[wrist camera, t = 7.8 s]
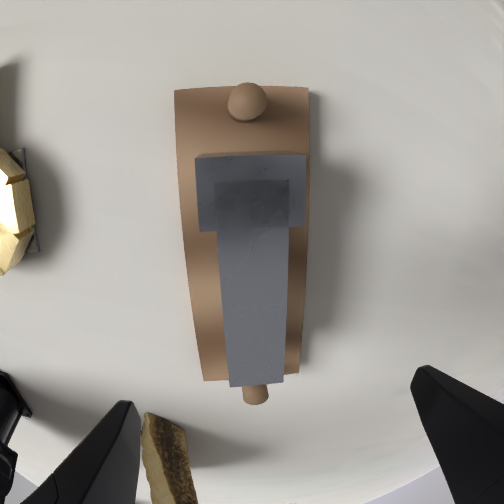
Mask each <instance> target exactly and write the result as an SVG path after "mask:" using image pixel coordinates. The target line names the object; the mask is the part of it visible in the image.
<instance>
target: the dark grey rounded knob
mask: <svg viewBox="0 0 504 504" xmlns="http://www.w3.org/2000/svg"><path fill="white" fill-rule="evenodd" d="M7 154H8V155H9V156H10V157H11V158H12V159H13V160H14V161H15V162H16V163H17V164H18V165H19V166H20V167H21V168H22V169H23V170H24V171H25V172H26V165H25V153H24V148H22V149H18V150H15V151H12V152H9V153H7ZM26 179H27V174H25V176H24V178H23V180H26ZM31 227H32V228H33V229H35V226H34V225H32V226H31ZM39 251H40V249H39V245H38V240H37V236H36V231H34V233H33V235H32V237H31V239H30V241H29V244H28V246H27V248H26V250H25V253H35V252H39Z"/></svg>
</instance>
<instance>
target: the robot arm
mask: <svg viewBox="0 0 504 504" xmlns="http://www.w3.org/2000/svg"><path fill="white" fill-rule="evenodd" d="M410 389H411V393H412V395H413V398H414V401H415V404H416V407H417V410H418V413H419V416H420V419H421V422H422V425H423V427H424V429H425V432H426V434H427V436H428V438H429V441H430V443H431V445H432V447H433V450H434V452H435V454H436V457H437V459H438V461H439V464H440V466H441V469H442V471H443V474H444V476H445V479H446V481H447V484H448V486H449V489H450V491H451V494H452V497H453V499H454V502H455V504H504V404H502V403H500V402H498V401H496V400H495V399H493V398H491V397H489V396H487V395H485V394H483V393H481V392H479V391H477V390H475V389H473V388H472V387H470V386H468V385H466V384H464V383H462V382H460V381H458V380H456V379H454V378H453V377H451V376H449V375H447V374H445V373H443V372H441V371H439V370H438V369H436V368H434V367H432V366H430V365H425V366H422V367H419V368H418V369H417V370H416V372H415V375H414V377H413V380H412V382H411V386H410ZM21 415H22V416H25V417H29V418H31V417H32V412H31V411H30V410H29V408H28V407H27V405H26V404H25V402H24V401H23V399H22V398H21V396H20V394H19V393H18V391H17V390H16V388H15V386H14V385H13V383H12V381H11V380H10V378H9V376H8V375H7V374H5V373H2V372H0V504H4V501H5V496H7V494H8V493H9V491H10V490H11V487H12V484H13V479H14V472H15V467H16V462H17V457H18V454H17V453H16V452H15V451H13V450H11V449H10V448H9V447H8V446H7V445H8V443H9V441H10V439H11V436H12V434H13V432H14V430H15V428H16V426H17V424H18V421H19V419H20V417H21ZM140 435H141V419H140V416H139V414H138V412H137V409H136V407H135V405H134V403H133V402H132V401H126V400H120V401H118V402H117V403H116V404H115V405H114V406H113V408H112V409H111V410H110V411H109V412H108V413H107V414H106V415H105V416H104V417H103V418H102V420H101V421H100V422H99V423H98V424H97V425H96V426H95V427H94V428H93V429H92V430H91V431H90V433H89V434H88V435H87V436H86V437H85V438H84V439H83V440H82V441H81V442H80V443H79V445H78V446H77V447H76V448H75V449H74V450H73V451H72V452H71V453H70V454H69V455H68V456H67V458H66V459H65V460H64V461H63V462H62V463H61V464H60V465H59V466H58V467H57V468H56V470H55V471H54V472H53V473H52V474H51V475H50V476H49V477H48V478H47V479H46V480H45V481H44V482H43V483H42V484H41V485H40V486H39V487H38V488H37V489H36V490H35V491H34V492H33V493H32V494H31V495H30V496H29V497H27V498H26V499H25V500H24V501H23V502H21V503H20V504H135V498H136V490H137V482H138V475H139V466H140Z"/></svg>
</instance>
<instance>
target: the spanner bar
mask: <svg viewBox="0 0 504 504" xmlns="http://www.w3.org/2000/svg"><path fill="white" fill-rule="evenodd" d="M195 176H196V192H197V207H198V220H199V232H208V231H217V247H218V261H219V274H220V287H221V299H222V311H223V323H224V334H225V344H226V354H227V364H228V374H229V383H230V387H240V386H252V385H263V384H272V383H281V382H283V376H284V358H285V339H286V316H287V288H288V250H289V227H302V226H305V208H306V155H303V154H298V153H293V152H288V151H249V152H224V153H207V154H200V155H199V156H197V157H196V158H195Z"/></svg>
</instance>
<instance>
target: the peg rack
mask: <svg viewBox="0 0 504 504" xmlns="http://www.w3.org/2000/svg"><path fill="white" fill-rule="evenodd" d="M174 102H175V132H176V153H177V169H178V184H179V197H180V209H181V220H182V230H183V240H184V250H185V259H186V267H187V275H188V283H189V291H190V298H191V306H192V313H193V320H194V326H195V333H196V339H197V345H198V351H199V357H200V363H201V369H202V374H203V380H204V381H217V380H229V374H228V364H227V354H226V344H225V334H224V323H223V311H222V299H221V287H220V274H219V261H218V247H217V231H208V232H199V220H198V207H197V192H196V176H195V158H196V157H197V156H199V155H200V154H207V153H224V152H249V151H288V152H293V153H298V154H303V155H306V208H305V226H302V227H289V250H288V288H287V316H286V339H285V358H284V375H286V374H293V373H298V372H299V361H300V351H301V339H302V327H303V314H304V299H305V283H306V265H307V243H308V214H309V96H308V88H304V87H285V86H258V85H256V84H254V83H242V84H240V85H238V86H227V87H207V88H193V89H182V90H174ZM242 391H243V399H244V401H245V402H246V403H247V404H250V405H258V404H262V403H264V402H265V401H266V400H267V399H268V390H267V385H266V384H263V385H252V386H242Z"/></svg>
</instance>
